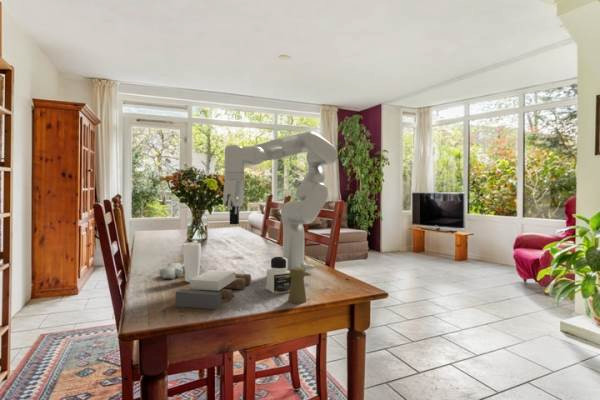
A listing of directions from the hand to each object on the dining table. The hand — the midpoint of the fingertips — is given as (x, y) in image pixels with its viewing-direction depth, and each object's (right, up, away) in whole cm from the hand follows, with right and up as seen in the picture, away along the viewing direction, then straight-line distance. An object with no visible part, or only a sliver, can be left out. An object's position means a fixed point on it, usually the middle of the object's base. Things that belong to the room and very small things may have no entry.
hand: (234, 224), depth 135 cm
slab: (-4, -19, -17) cm, 26 cm away
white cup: (-17, -23, +2) cm, 29 cm away
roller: (-4, -24, -19) cm, 31 cm away
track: (-3, -23, -11) cm, 26 cm away
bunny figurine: (-28, -23, +11) cm, 38 cm away
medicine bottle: (+18, -24, -9) cm, 31 cm away
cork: (+25, -24, -21) cm, 40 cm away
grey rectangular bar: (-6, -24, -27) cm, 37 cm away
